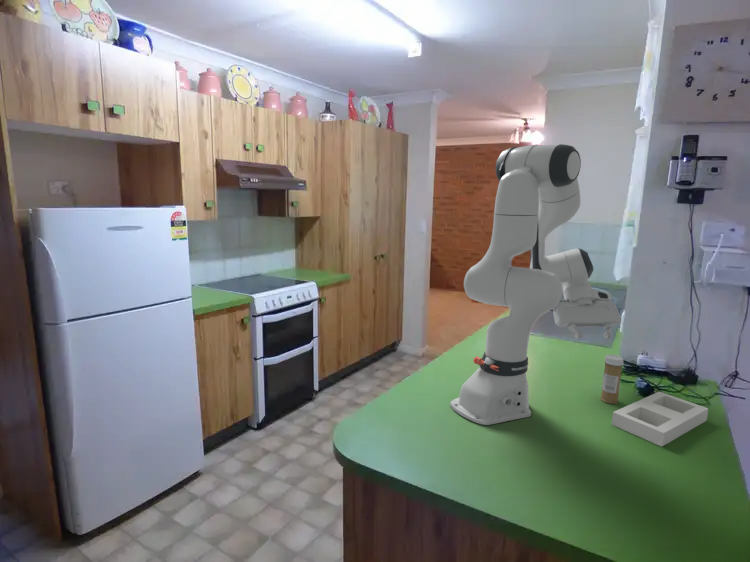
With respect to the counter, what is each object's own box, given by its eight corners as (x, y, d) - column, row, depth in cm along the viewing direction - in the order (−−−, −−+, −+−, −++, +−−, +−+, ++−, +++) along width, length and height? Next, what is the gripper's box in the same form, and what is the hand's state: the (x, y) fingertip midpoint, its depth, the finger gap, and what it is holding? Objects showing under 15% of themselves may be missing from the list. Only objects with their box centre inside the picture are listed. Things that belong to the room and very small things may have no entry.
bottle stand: (661, 446, 103) (663, 433, 102) (611, 424, 113) (613, 411, 112) (706, 420, 116) (708, 408, 115) (657, 402, 125) (659, 391, 125)
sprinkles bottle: (621, 402, 126) (627, 357, 123) (612, 405, 123) (618, 360, 121) (605, 396, 129) (610, 352, 127) (596, 399, 127) (602, 355, 124)
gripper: (553, 294, 138) (566, 333, 130) (614, 294, 140) (631, 333, 132) (545, 304, 143) (557, 343, 135) (604, 304, 145) (620, 342, 137)
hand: (594, 338), depth 134 cm, fingers open, 8 cm apart
